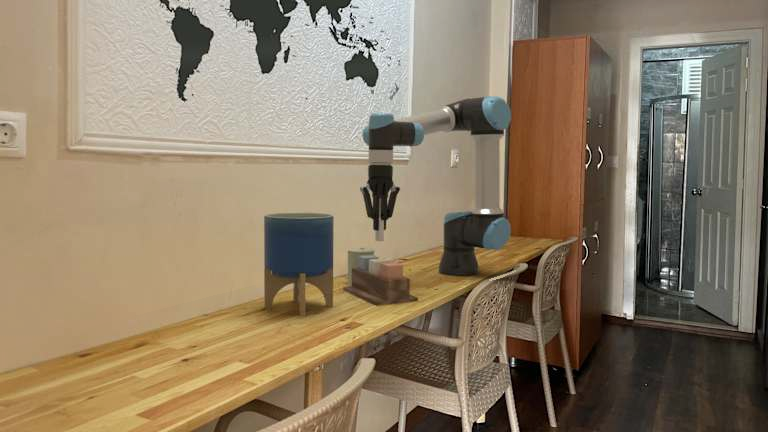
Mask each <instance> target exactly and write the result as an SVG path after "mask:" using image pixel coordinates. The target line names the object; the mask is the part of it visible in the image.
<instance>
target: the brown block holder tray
mask: <svg viewBox="0 0 768 432" xmlns="http://www.w3.org/2000/svg"><path fill="white" fill-rule="evenodd" d="M410 281H411V278H409V277H406V276H403V279H392V280H386V279H383V278H381V277H380V275H373V274H370V273H369V271H362V270H359V269H358V267H357V268H352V285H350V286H347V285H346V286H342V289H343V291H345V292H347V293H349V294H351V295H353V296H355V297H358V298H359V299H362V300H364V301H366V302H368V303H370V304H372V305H375V306H383V305H393V304H394V305H395V304H403V303H411V302H413V303H414V302H418V301H419V297H418V296H415V295H412V294H410V290H411V289H410V285H411V284H410Z"/></svg>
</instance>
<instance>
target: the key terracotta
mask: <svg viewBox="0 0 768 432" xmlns="http://www.w3.org/2000/svg"><path fill="white" fill-rule="evenodd" d="M380 277H381V278H383V279H386V280H392V279H403V277H404V264H401V263H398V262H395V261H394V262H390V263H380Z"/></svg>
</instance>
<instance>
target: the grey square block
mask: <svg viewBox="0 0 768 432" xmlns="http://www.w3.org/2000/svg"><path fill="white" fill-rule="evenodd" d="M371 259H380V257H378V256H376V255H374V256H373V255H366V256H358V269H359V270H362V271H369V260H371Z"/></svg>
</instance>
